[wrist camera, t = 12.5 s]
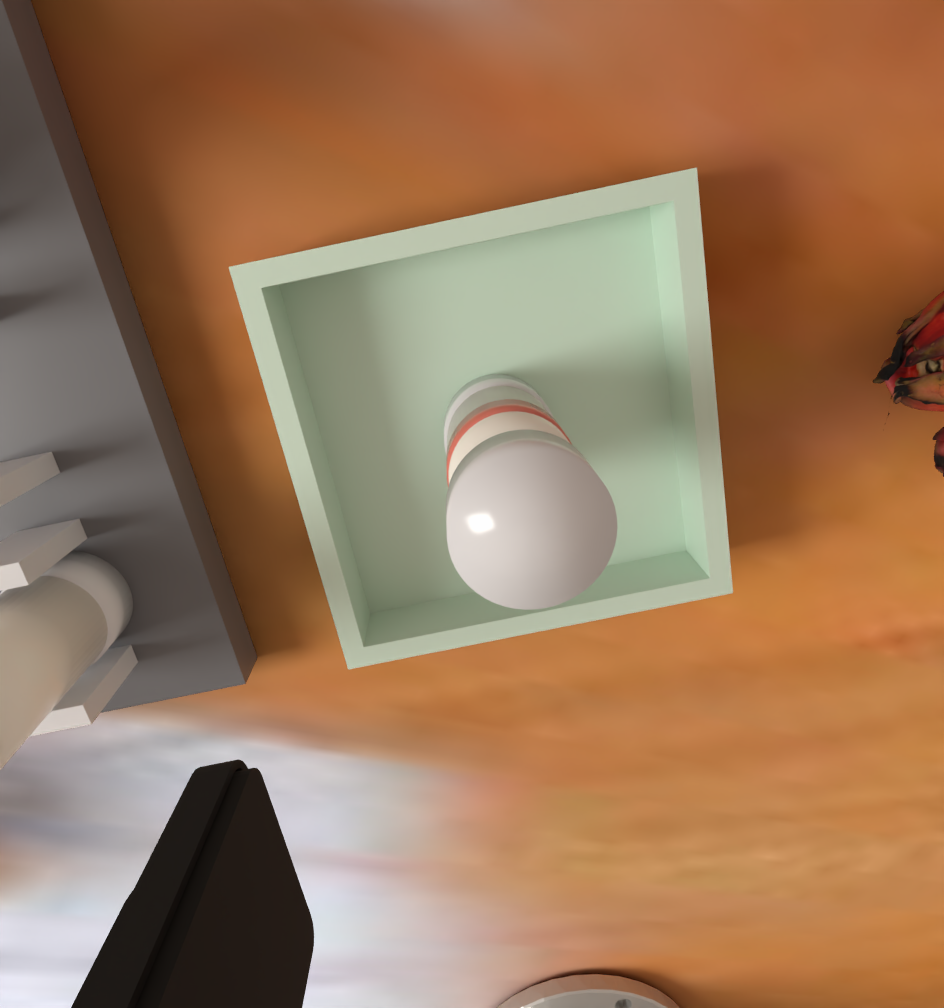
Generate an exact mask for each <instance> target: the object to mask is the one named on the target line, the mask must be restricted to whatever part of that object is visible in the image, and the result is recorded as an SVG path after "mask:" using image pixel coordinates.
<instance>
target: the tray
mask: <svg viewBox="0 0 944 1008" xmlns="http://www.w3.org/2000/svg"><path fill="white" fill-rule="evenodd" d="M229 270H230V274H231V277H232V280H233V284H234V287H235V290H236V294H237V297H238V300H239V304H240V307H241V311H242V314H243V317H244V321H245V324H246V327H247V331H248V334H249V337H250V341H251V344H252V348H253V351H254V354H255V358H256V361H257V364H258V368H259V371H260V374H261V378H262V381H263V384H264V388H265V391H266V395H267V398H268V401H269V405H270V408H271V411H272V415H273V418H274V421H275V425H276V428H277V431H278V435H279V438H280V442H281V445H282V448H283V452H284V455H285V458H286V462H287V465H288V468H289V472H290V475H291V479H292V482H293V485H294V489H295V492H296V495H297V499H298V502H299V505H300V509H301V512H302V515H303V519H304V522H305V526H306V529H307V532H308V536H309V539H310V542H311V546H312V549H313V552H314V556H315V559H316V563H317V566H318V569H319V573H320V576H321V579H322V583H323V586H324V589H325V593H326V596H327V599H328V603H329V606H330V610H331V613H332V616H333V620H334V623H335V626H336V630H337V633H338V636H339V640H340V643H341V646H342V650H343V653H344V657H345V660H346V663H347V667H348V669H353V668H358V667H363V666H368V665H373V664H378V663H383V662H388V661H393V660H398V659H403V658H408V657H413V656H418V655H423V654H428V653H434V652H439V651H444V650H449V649H454V648H459V647H464V646H469V645H474V644H479V643H484V642H489V641H494V640H499V639H504V638H509V637H514V636H519V635H524V634H529V633H534V632H539V631H544V630H549V629H554V628H559V627H564V626H569V625H574V624H580V623H585V622H590V621H595V620H600V619H605V618H610V617H615V616H620V615H625V614H630V613H635V612H640V611H645V610H650V609H655V608H660V607H665V606H670V605H675V604H680V603H685V602H690V601H695V600H700V599H705V598H710V597H715V596H720V595H726V594H731V593H733V588H732V576H731V564H730V552H729V541H728V529H727V517H726V505H725V493H724V482H723V470H722V458H721V446H720V435H719V423H718V411H717V399H716V388H715V376H714V364H713V352H712V340H711V329H710V317H709V305H708V293H707V282H706V270H705V258H704V246H703V235H702V223H701V211H700V199H699V187H698V176H697V168H692V169H687V170H683V171H678V172H673V173H668V174H664V175H659V176H654V177H650V178H645V179H640V180H636V181H631V182H626V183H621V184H617V185H612V186H607V187H603V188H598V189H593V190H589V191H584V192H579V193H574V194H570V195H565V196H560V197H556V198H551V199H546V200H541V201H537V202H532V203H527V204H523V205H518V206H513V207H509V208H504V209H499V210H494V211H490V212H485V213H480V214H476V215H471V216H466V217H462V218H457V219H452V220H447V221H443V222H438V223H433V224H429V225H424V226H419V227H414V228H410V229H405V230H400V231H396V232H391V233H386V234H382V235H377V236H372V237H367V238H363V239H358V240H353V241H349V242H344V243H339V244H335V245H330V246H325V247H320V248H316V249H311V250H306V251H302V252H297V253H292V254H287V255H283V256H278V257H273V258H269V259H264V260H259V261H255V262H250V263H245V264H240V265H236V266H231V267H229ZM490 374H505V375H510V376H514V377H516V378H519V379H521V380H523V381H525V382H526V383H528V384H529V385H530V386H532V387H533V388H534V389H535V390H536V391H537V393H538V394H539V395H540V397H541V398H542V399H543V401H544V402H545V404H546V405H547V406H548V408H549V409H550V411H551V413H552V415H553V418H554V419H555V420H556V421H557V423H558V424H559V426H560V427H561V428H562V430H563V431H564V432H565V434H566V435H567V437H568V438H569V440H570V442H571V443H572V445H573V446H574V447H575V448H576V449H577V450H578V451H579V452H580V453H581V454H582V455H583V456H584V457H585V459H586V460H587V461H588V463H589V464H590V465H591V467H592V468H593V469H594V471H595V472H596V474H597V475H598V476H599V478H600V479H601V480H602V482H603V483H604V485H605V486H606V488H607V489H608V491H609V493H610V495H611V497H612V500H613V503H614V505H615V510H616V515H617V538H616V543H615V547H614V550H613V553H612V556H611V558H610V560H609V562H608V564H607V566H606V567H605V569H604V570H603V572H602V573H601V575H600V576H599V577H598V578H597V579H596V580H595V582H594V583H593V584H592V585H590V586H589V587H588V588H587V589H586V590H585V591H583V592H582V593H580V594H579V595H577V596H576V597H574V598H572V599H570V600H568V601H566V602H564V603H561V604H559V605H556V606H552V607H548V608H542V609H534V610H523V609H513V608H509V607H504V606H501V605H499V604H496V603H493V602H491V601H489V600H487V599H485V598H484V597H482V596H481V595H479V594H478V593H476V592H475V591H474V590H473V589H472V588H470V587H469V586H468V585H467V584H466V582H465V581H464V580H463V579H462V578H461V576H460V575H459V573H458V572H457V570H456V568H455V566H454V564H453V562H452V560H451V557H450V553H449V550H448V544H447V527H446V497H447V490H448V484H447V468H446V452H445V446H444V418H445V414H446V410H447V408H448V405H449V403H450V401H451V400H452V398H453V397H454V395H455V394H456V393H457V392H458V391H459V390H460V389H461V388H462V387H463V386H464V385H465V384H467V383H468V382H470V381H472V380H473V379H476V378H478V377H481V376H485V375H490Z"/></svg>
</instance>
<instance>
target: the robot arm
mask: <svg viewBox="0 0 944 1008" xmlns="http://www.w3.org/2000/svg"><path fill="white" fill-rule="evenodd" d="M313 946H314V929H313V922H312V918H311V914H310V912H309V909H308V906H307V903H306V900H305V897H304V894H303V892H302V889H301V886H300V883H299V880H298V877H297V874H296V872H295V869H294V866H293V863H292V860H291V857H290V854H289V852H288V849H287V846H286V843H285V840H284V837H283V834H282V832H281V829H280V826H279V823H278V820H277V817H276V814H275V812H274V809H273V806H272V803H271V800H270V797H269V794H268V791H267V789H266V786H265V783H264V780H263V777H262V775H261V773H260V771H259V770H258V769H257V768H251V769H248V768H247V766H246V764H245V763H244V762H243V761H241V760H234V761H229V762H224V763H219V764H214V765H209V766H204V767H200V768H197V769H196V770H195V771H194V773H193V774H192V776H191V778H190V780H189V782H188V783H187V785H186V787H185V789H184V791H183V793H182V795H181V797H180V799H179V801H178V803H177V805H176V807H175V809H174V811H173V813H172V815H171V817H170V819H169V821H168V823H167V825H166V827H165V829H164V831H163V833H162V835H161V837H160V839H159V841H158V843H157V845H156V847H155V849H154V851H153V853H152V855H151V857H150V859H149V861H148V863H147V865H146V867H145V869H144V870H143V872H142V874H141V876H140V878H139V880H138V882H137V884H136V886H135V888H134V890H133V891H132V892H131V894H130V895H129V897H128V898H127V900H126V901H125V903H124V905H123V907H122V909H121V911H120V913H119V915H118V917H117V919H116V921H115V923H114V925H113V927H112V929H111V930H110V932H109V934H108V936H107V938H106V940H105V942H104V944H103V946H102V948H101V950H100V952H99V954H98V956H97V958H96V960H95V962H94V964H93V966H92V968H91V970H90V972H89V974H88V976H87V978H86V980H85V981H84V983H83V985H82V987H81V989H80V991H79V993H78V995H77V997H76V999H75V1001H74V1003H73V1005H72V1007H71V1008H302V1005H303V999H304V994H305V989H306V984H307V979H308V973H309V968H310V963H311V958H312V953H313ZM497 1008H679V1006H678V1005H677V1004H676V1003H675V1002H674V1001H673V1000H672V999H671V998H669V997H668V996H666V995H665V994H664V993H662V992H661V991H659V990H658V989H656V988H653V987H651V986H649V985H647V984H644V983H642V982H640V981H636V980H632V979H628V978H625V977H621V976H613V975H603V974H585V975H572V976H567V977H561V978H556V979H552V980H549V981H546V982H543V983H540V984H537V985H534V986H531V987H529V988H527V989H525V990H523V991H521V992H519V993H517V994H515V995H513V996H512V997H511V998H509V999H508V1000H506V1001H505V1002H504V1003H502V1004H501V1005H500V1006H498V1007H497Z"/></svg>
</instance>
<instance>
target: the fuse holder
mask: <svg viewBox="0 0 944 1008" xmlns="http://www.w3.org/2000/svg"><path fill="white" fill-rule="evenodd" d="M71 551H79V552H84V553H89V554H92V555H95V556H97V557H99V558H101V559H103V560H105V561H106V562H108V563H109V564H111V565H112V566H113V567H114V568H115V569H116V570H118V571H119V573H120V574H121V575H122V576H123V577H124V579H125V580H126V582H127V584H128V586H129V588H130V591H131V594H132V598H133V612H132V616H131V619H130V621H129V623H128V625H127V627H126V628H125V629H124V631H123V632H122V633H121V634H120V635H119V636H118V638H117V639H116V640H115V641H114V642H113V644H112V645H111V646H110V647H109V648H108V649H107V651H106V652H105V653H104V654H103V655H102V656H101V658H100V659H99V660H98V661H96V662H95V663H94V664H93V665H91V666H89V667H88V668H87V670H86V671H85V672H84V673H83V674H82V675H81V677H80V678H79V679H78V680H77V681H76V682H75V684H74V685H73V686H72V687H71V688H70V689H69V691H68V692H67V693H66V694H65V695H64V696H63V698H62V699H61V700H60V701H59V702H58V703H57V705H56V706H55V707H54V708H53V709H52V710H51V712H50V713H49V714H48V715H47V716H46V717H45V719H44V720H43V721H42V722H41V723H40V724H39V726H38V727H37V728H36V729H35V730H34V731H33V733H32V734H31V735H30V736H36V735H41V734H46V733H51V732H56V731H61V730H66V729H71V728H76V727H81V726H86V725H91V724H92V723H93V722H94V720H95V719H96V718H97V716H98V715H99V714H100V713H101V712H106V711H111V710H116V709H121V708H126V707H131V706H136V705H142V704H147V703H152V702H157V701H162V700H167V699H172V698H177V697H182V696H187V695H192V694H197V693H202V692H207V691H212V690H217V689H222V688H227V687H232V686H237V685H242V684H246V682H247V679H248V677H249V675H250V673H251V671H252V668H253V666H254V664H255V662H256V660H257V655H256V652H255V649H254V646H253V643H252V640H251V638H250V635H249V632H248V629H247V626H246V623H245V620H244V617H243V614H242V611H241V609H240V606H239V603H238V600H237V597H236V594H235V591H234V588H233V585H232V582H231V580H230V577H229V574H228V571H227V568H226V565H225V562H224V559H223V556H222V553H221V551H220V548H219V545H218V542H217V539H216V536H215V533H214V530H213V527H212V524H211V522H210V519H209V516H208V513H207V510H206V507H205V504H204V501H203V498H202V495H201V493H200V490H199V487H198V484H197V481H196V478H195V475H194V472H193V469H192V466H191V464H190V461H189V458H188V455H187V452H186V449H185V446H184V443H183V440H182V437H181V435H180V432H179V429H178V426H177V423H176V420H175V417H174V414H173V411H172V408H171V406H170V403H169V400H168V397H167V394H166V391H165V388H164V385H163V382H162V379H161V377H160V374H159V371H158V368H157V365H156V362H155V359H154V356H153V353H152V350H151V348H150V345H149V342H148V339H147V336H146V333H145V330H144V327H143V324H142V321H141V319H140V316H139V313H138V310H137V307H136V304H135V301H134V298H133V295H132V292H131V290H130V287H129V284H128V281H127V278H126V275H125V272H124V269H123V266H122V263H121V261H120V258H119V255H118V252H117V249H116V246H115V243H114V240H113V237H112V234H111V232H110V229H109V226H108V223H107V220H106V217H105V214H104V211H103V208H102V205H101V203H100V200H99V197H98V194H97V191H96V188H95V185H94V182H93V179H92V176H91V174H90V171H89V168H88V165H87V162H86V159H85V156H84V153H83V150H82V148H81V145H80V142H79V139H78V136H77V133H76V130H75V127H74V124H73V121H72V119H71V116H70V113H69V110H68V107H67V104H66V101H65V98H64V95H63V92H62V90H61V87H60V84H59V81H58V78H57V75H56V72H55V69H54V66H53V63H52V61H51V58H50V55H49V52H48V49H47V46H46V43H45V40H44V37H43V34H42V32H41V29H40V26H39V23H38V20H37V17H36V14H35V11H34V8H33V5H32V3H31V0H0V593H1V592H2V590H7V589H11V588H16V587H21V586H26V585H29V584H31V583H32V582H33V581H34V580H36V579H37V578H38V577H39V576H41V575H42V574H43V573H44V572H46V571H47V570H48V569H49V568H51V567H52V566H53V565H54V564H56V563H57V562H58V561H59V560H61V559H62V558H63V557H65V556H66V555H67V554H68V553H70V552H71ZM30 736H29V737H30Z"/></svg>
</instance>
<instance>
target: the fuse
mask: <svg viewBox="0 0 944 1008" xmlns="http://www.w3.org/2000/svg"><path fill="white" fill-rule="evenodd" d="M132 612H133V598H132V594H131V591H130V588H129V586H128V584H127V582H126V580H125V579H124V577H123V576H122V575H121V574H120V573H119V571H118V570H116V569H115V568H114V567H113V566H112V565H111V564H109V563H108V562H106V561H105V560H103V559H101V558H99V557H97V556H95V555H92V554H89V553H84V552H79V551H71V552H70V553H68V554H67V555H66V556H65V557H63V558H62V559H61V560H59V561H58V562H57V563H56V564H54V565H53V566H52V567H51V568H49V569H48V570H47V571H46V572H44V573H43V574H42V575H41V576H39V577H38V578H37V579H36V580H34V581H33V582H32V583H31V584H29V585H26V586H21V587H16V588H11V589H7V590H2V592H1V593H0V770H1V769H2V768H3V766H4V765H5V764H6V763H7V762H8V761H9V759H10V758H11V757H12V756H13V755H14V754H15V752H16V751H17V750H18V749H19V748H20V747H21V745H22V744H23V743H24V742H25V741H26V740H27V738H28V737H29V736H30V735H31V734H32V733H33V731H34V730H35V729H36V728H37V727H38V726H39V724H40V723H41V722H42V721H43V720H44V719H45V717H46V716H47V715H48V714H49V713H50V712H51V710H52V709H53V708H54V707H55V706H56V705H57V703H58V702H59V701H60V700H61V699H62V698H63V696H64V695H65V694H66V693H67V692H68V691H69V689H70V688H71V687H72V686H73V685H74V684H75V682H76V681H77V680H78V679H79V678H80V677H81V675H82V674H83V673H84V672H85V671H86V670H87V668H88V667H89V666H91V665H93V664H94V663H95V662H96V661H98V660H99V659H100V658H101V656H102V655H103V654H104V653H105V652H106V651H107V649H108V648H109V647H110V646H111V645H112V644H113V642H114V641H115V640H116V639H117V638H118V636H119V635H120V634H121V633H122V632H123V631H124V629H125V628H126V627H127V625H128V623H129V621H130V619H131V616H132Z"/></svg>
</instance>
